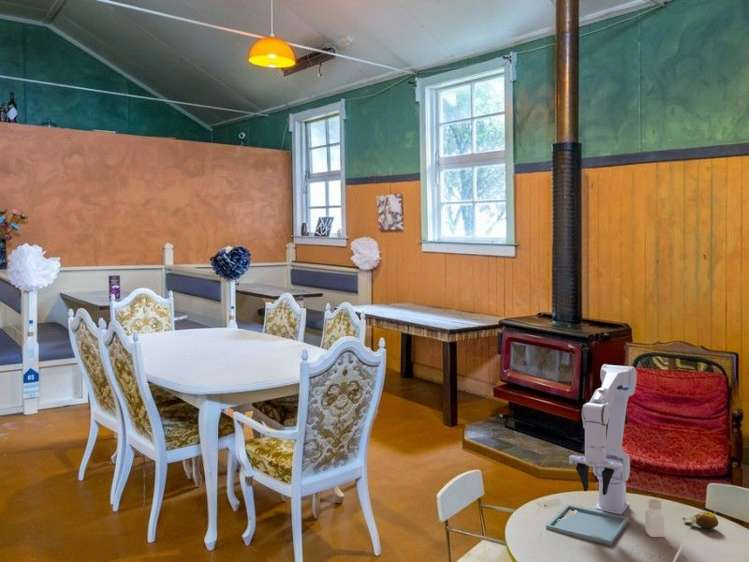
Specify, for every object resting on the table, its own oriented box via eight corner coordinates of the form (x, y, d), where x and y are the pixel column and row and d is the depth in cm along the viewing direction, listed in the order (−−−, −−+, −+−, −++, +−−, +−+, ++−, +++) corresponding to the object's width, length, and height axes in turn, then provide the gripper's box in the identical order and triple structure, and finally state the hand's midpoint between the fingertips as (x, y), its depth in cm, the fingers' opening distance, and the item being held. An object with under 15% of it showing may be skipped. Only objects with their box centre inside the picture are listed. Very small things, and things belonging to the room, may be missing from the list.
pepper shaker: (644, 531, 179) (644, 498, 178) (658, 531, 179) (659, 498, 178) (650, 538, 175) (650, 504, 174) (665, 538, 175) (665, 504, 174)
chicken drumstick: (698, 515, 188) (699, 503, 188) (725, 526, 181) (726, 514, 181) (680, 520, 185) (680, 508, 184) (706, 532, 177) (707, 519, 177)
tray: (567, 509, 195) (567, 504, 195) (628, 523, 185) (628, 517, 185) (546, 530, 181) (546, 525, 180) (611, 546, 170) (611, 541, 170)
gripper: (565, 444, 182) (565, 491, 182) (618, 452, 173) (618, 501, 174) (573, 438, 188) (573, 483, 188) (624, 446, 179) (624, 493, 180)
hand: (595, 491), depth 181 cm, fingers open, 5 cm apart
